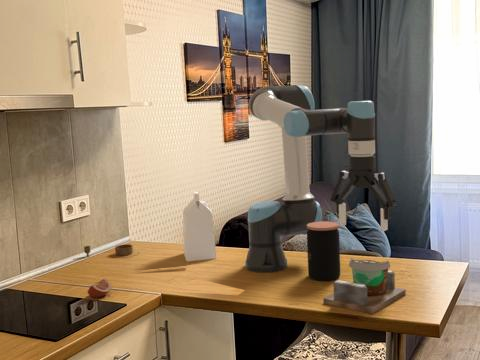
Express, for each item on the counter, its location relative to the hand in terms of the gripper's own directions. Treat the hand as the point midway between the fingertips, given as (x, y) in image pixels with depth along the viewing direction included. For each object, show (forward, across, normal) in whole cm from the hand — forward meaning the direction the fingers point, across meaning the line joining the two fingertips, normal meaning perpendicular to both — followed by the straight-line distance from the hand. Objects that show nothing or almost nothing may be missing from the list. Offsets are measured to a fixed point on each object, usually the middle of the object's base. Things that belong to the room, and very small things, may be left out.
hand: (362, 228), depth 171 cm
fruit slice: (+22, -71, -43) cm, 86 cm away
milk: (+22, -77, +8) cm, 80 cm away
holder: (+21, 0, 0) cm, 21 cm away
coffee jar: (+22, -22, +12) cm, 33 cm away
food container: (+20, +1, 0) cm, 20 cm away
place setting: (+23, -109, -8) cm, 112 cm away
